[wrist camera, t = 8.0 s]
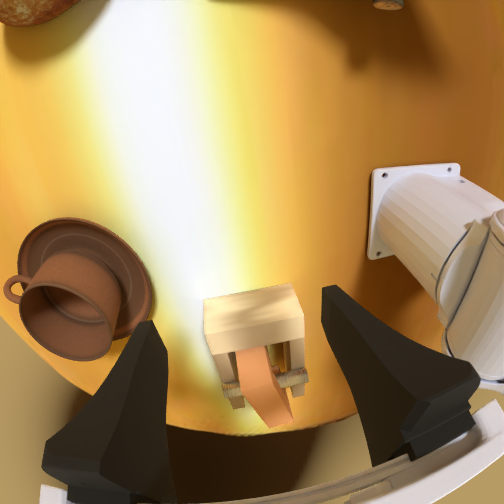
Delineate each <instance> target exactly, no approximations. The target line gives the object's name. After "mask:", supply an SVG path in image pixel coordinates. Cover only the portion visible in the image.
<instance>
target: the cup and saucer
mask: <svg viewBox="0 0 504 504" xmlns="http://www.w3.org/2000/svg"><path fill="white" fill-rule="evenodd" d="M17 267H18V275H16V276H13V277H11V278H9V279H8V280H7V281H6V283H5V285H4V289H3V290H4V294H5V296H6V298H7V299H8V300H10V301H12V302H14V303H17V304H19V313H20V317H21V320H22V322H23V324H24V326H25V328H26V329H27V331H28V332H29V334H30V335H31V336H32V337H33V338H34V339H35V340H36V341H37V342H38V343H39V344H40V345H42V346H43V347H44V348H46V349H47V350H49V351H50V352H52V353H54V354H56V355H58V356H60V357H63V358H66V359H70V360H74V361H92V360H96V359H99V358H101V357H102V356H104V355H105V354H106V353H107V352H108V351H109V349H110V347H111V344H112V341H114V340H118V339H122V338H125V337H127V336H129V335H131V334H132V333H133V332H134V330H135V328H136V326H137V325H138V323H139V322H143V321H146V319H147V317H148V315H149V312H150V309H151V304H152V291H151V284H150V280H149V277H148V274H147V271H146V269H145V267H144V265H143V263H142V262H141V260H140V258H139V257H138V256H137V254H136V253H135V252H134V251H133V249H132V248H131V247H130V246H129V245H128V244H127V243H126V242H125V241H124V240H123V239H121V238H120V237H119V236H118V235H116V234H115V233H113V232H112V231H110V230H109V229H107V228H105V227H103V226H101V225H99V224H97V223H94V222H91V221H88V220H84V219H80V218H71V217H65V218H56V219H52V220H49V221H47V222H44V223H42V224H40V225H39V226H37V227H35V228H34V229H33V230H32V231H31V232H30V233H29V234H28V235H27V236H26V238H25V239H24V241H23V243H22V245H21V247H20V250H19V254H18V261H17ZM17 282H20V283H21V286H22V288H23V291H24V292H23V294H22V296H18V295H15V294H13V293H12V292H11V287H12V285H13V284H15V283H17Z"/></svg>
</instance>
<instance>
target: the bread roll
mask: <svg viewBox="0 0 504 504" xmlns="http://www.w3.org/2000/svg"><path fill="white" fill-rule="evenodd" d="M79 1H80V0H0V22H2V23H4V24H6V25H10V26H16V27H22V26H30V25H36V24H40V23H44V22H46V21H49V20H51V19H53V18H55V17H57V16H59V15H60V14H62V13H63V12H64V11H66V10H68V9H69V8H70V7H71V6H72V5H74V4H76V3H78V2H79Z"/></svg>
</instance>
